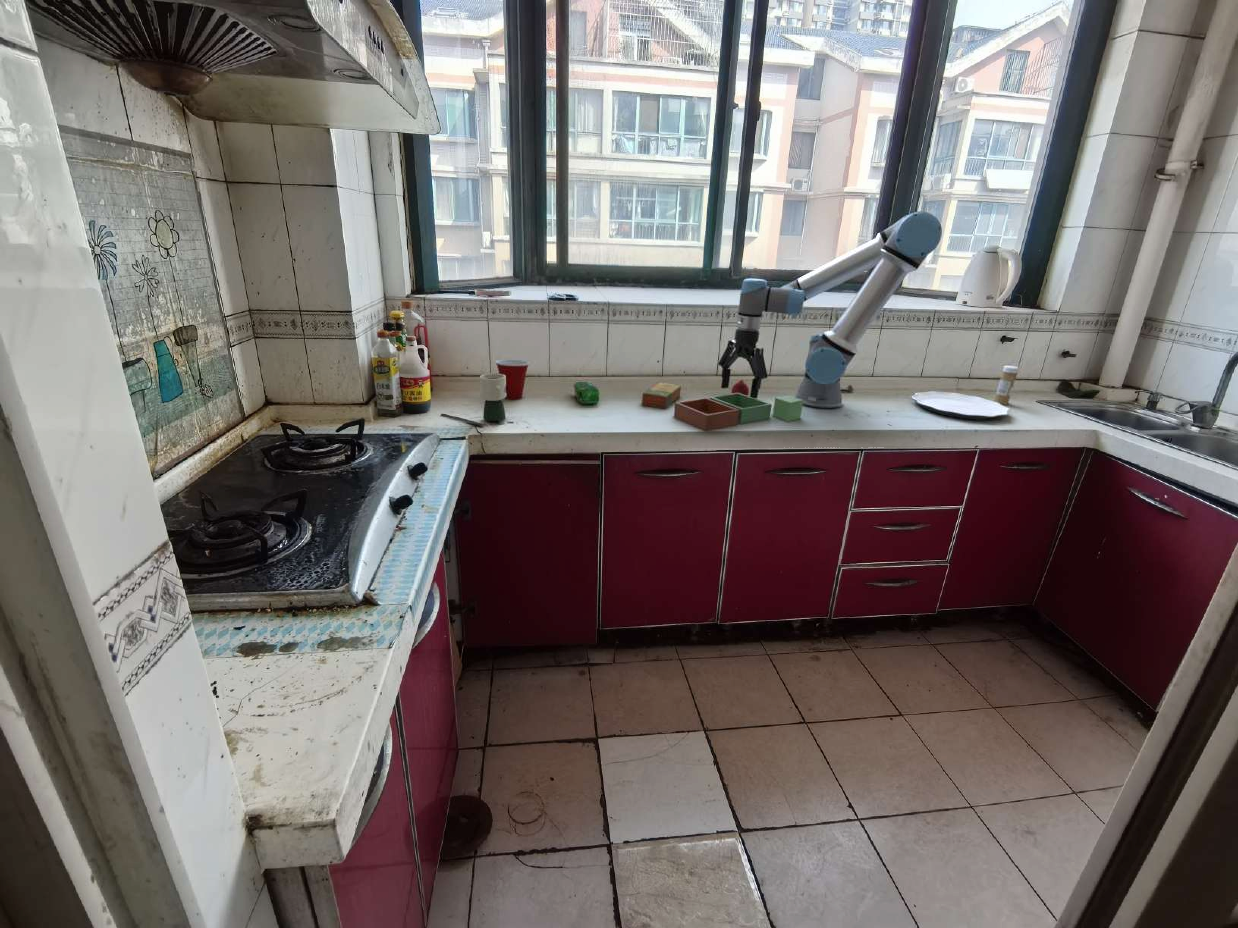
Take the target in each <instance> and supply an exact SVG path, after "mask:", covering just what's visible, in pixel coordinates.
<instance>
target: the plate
mask: <svg viewBox="0 0 1238 928" xmlns="http://www.w3.org/2000/svg"><path fill="white" fill-rule="evenodd" d="M911 400H914V401H915V402H917V403H918V404H919V405H920V406H921V408H924V409H925V410H928V411H930V412H932V413H936V414H940V415H943V416H947V417H952V418H958V419H966V420H975V421H976V420H981V421H984V420H985V421H987V420H993V419H997V418H1000V417H1005V416H1008V415H1009V413H1008V412H1011V411H1010V410H1011V409H1010V408H1009V407H1006V406H1005V405H1002V404H999V403H997V402H994V400H989V399H986V398H982V397H980V396H976V395H968V394H962V393H957V392H948V391H947V392H946V391H945V392H944V391H935V390H934V391H933V390H932V391H930V390H929V391H925V392H924V391H922V392H915V393H914V395H912V396H911Z"/></svg>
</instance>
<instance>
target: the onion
mask: <svg viewBox="0 0 1238 928" xmlns="http://www.w3.org/2000/svg"><path fill="white" fill-rule="evenodd" d="M733 393H741V394H743V395H746V396H750V390H749V386H748V384H746V383H745V382H744V379H742V378H741V379H740V380H738V382H736V383H735V384H734V385H733V386H732V388H731V393H730V394H733Z"/></svg>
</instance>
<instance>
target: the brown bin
mask: <svg viewBox="0 0 1238 928" xmlns="http://www.w3.org/2000/svg"><path fill="white" fill-rule="evenodd" d="M738 414H739V410H738V409H735V408H732V407H730V406H727V405H724V404H722V403H719V402H716V401H714V400H711V399H709V398H708V397H701V398H695V399H689V400H683V401H677V402H676V401H674V412H673V418H676V419H678V420H681V421H682V422H685V423H687V424H689V425H692V426H693V427H696V428H698V429H700V430H703V431H712V430H717V429H722V428H728V427H732V426H738V423H737V422H738Z"/></svg>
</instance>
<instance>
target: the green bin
mask: <svg viewBox="0 0 1238 928" xmlns="http://www.w3.org/2000/svg"><path fill="white" fill-rule="evenodd" d="M708 399H711V400H714V401H716V402H719V403H722V404H724V405H727V406H730V407H732V408H735V409H738V410H739V414H738V422H737V424H739V425H742V424H748V423H752V422H758V421H762V420H767V419H770V417H771V412H772V403H770V402H766V401H763V400H761V399H758V398H752V397H750V395H748V396H746V395H743V394H741V393H733V394H731V393H727V394H721V395H714V396H709V398H708Z"/></svg>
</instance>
